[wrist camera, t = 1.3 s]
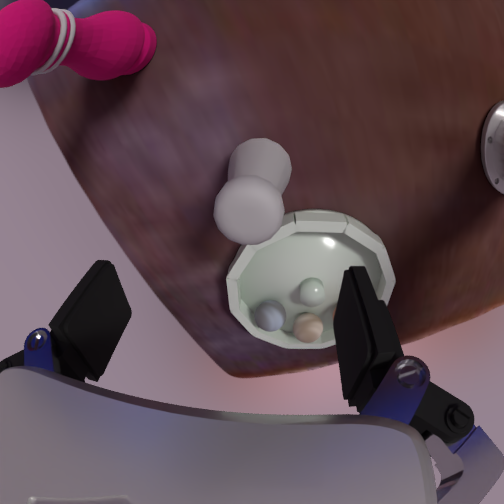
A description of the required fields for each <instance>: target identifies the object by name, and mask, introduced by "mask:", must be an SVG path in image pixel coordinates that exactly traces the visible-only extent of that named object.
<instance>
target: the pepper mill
mask: <svg viewBox="0 0 504 504" xmlns="http://www.w3.org/2000/svg"><path fill="white" fill-rule="evenodd" d="M156 44H157V39H156V35H155V32H154V31H153V29H152V28H151V27H150V26H148V25H147V24H145V23H142V22H141V21H140V20H139V19H138V18H137V17H136V16H134V15H133V14H131V13H128V12H124V11H106V12H102V13H98V14H96V15H93V16H90V17H88V18H84V19H80V18H74V16H73V15H72V13H71V12H69V11H67V10H64V9H57V8H51V7H50V6H49V5H48V4H47V3H46V2H45V1H42V0H19V1H16V2H13V3H11V4H10V5H8V6H6V7H5V8H3V9H2V10H0V88H3V87H10V86H13V85H15V84H17V83H20V82H22V81H23V80H24V79H26V78H27V77H28V76H30V75H37V74H45V73H48V72H50V71H52V70H53V69H55V68H56V67H57V66H58V65H65V66H68V67H70V68H71V69H72V70H74V71H75V72H76V73H78V74H79V75H81V76H83V77H86V78H88V79H92V80H109V79H113V78H116V77H118V76H120V75H130V74H133V73H135V72H138V71H139V70H141V69H142V68H144V67H145V66H146V65H147V64H148V63H149V61H150V60H151V58H152V57H153V55H154V52H155V49H156Z"/></svg>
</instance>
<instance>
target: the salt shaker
mask: <svg viewBox="0 0 504 504" xmlns="http://www.w3.org/2000/svg"><path fill="white" fill-rule="evenodd" d="M291 170H292V168H291V163H290V158H289V155H288V154H287V153H286V152H285V150H284V149H283V148H282V147H281V146H280V145H279V144H277V143H275V142H273V141H271V140H269V139H266V138H259V139H250V140H248V141H246V142H244V143H242V144H240V145H238V146H237V148H236V149H235V151H234V152H233V153H232V155H231V156H230V161H229V167H228V182H226V184H225V185H224V186H223V188H222V189H221V191H220V192H219V193H218V195H217V196H216V199H215V206H214V214H213V216H214V219H215V222H216V224H217V227H218V229H219V230H220V231H221V232H222V233H223V234H224V235H225V236H226V237H227V238H228V239H229V240H232V241H234V242H237V243H239V244H242V245H258V244H260V243H263V242H265V241H267V240H270V239H271V238H272V237H273V236H274V235H275V234H276V233H277V231H278V230H279V229H280V227H281V224H282V220H283V216H284V212H285V210H284V205H283V201H282V197H281V195H282V193H283V192H284V190H285V188H286V186H287V184H288V182H289V179H290V174H291Z"/></svg>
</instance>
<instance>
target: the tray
mask: <svg viewBox="0 0 504 504" xmlns="http://www.w3.org/2000/svg"><path fill="white" fill-rule="evenodd" d="M350 266H365V267H366V270H367V272H368V275H369V277H370V280H371V282H372V285H373V287H374V290H375V293H376V295H377V298H378V300H383V301H385V303H386V306H387V305H388V302H389V299H390V296H391V294H392V291H393V288H394V285H395V282H396V281H395V280H396V279H395V276H394V273H393V269H392V266H391V263H390V260H389V257H388V254H387V251H386V248H385V246H384V244H383V242H382V241H381V239H380V238H379V236H377V235H376V234H374V233H373V232H372V231H371V230H370V229H369V228H368V227H367V226H366V225H364V224H363V223H362V222H361V221H359V220H357V219H355V218H353V217H352V216H349V215H346V214H344V213H341V212H337V211H333V210H326V209H303V210H296V211H292V212H288V213H285V214H284V216H283V220H282V224H281V227H280V229H279V230H278V231H277V233H276V234H275V235H274V236H273V237H272V238H271V239H270V240H267V241H265V242H263V243H260V244H258V245H241V246H240V248H239V249H238V251H237V253H236V256H235V258H234V260H233V262H232V263H231V265H230V266H229V270H228V274H227V278H226V282H227V290H228V299H229V307H230V311H231V313H232V314H233V315H234V316H235V317H236V318H237V320H238V321H239V322H240V323H241V324H242V325H243V326H244V327H245V328H246V329H247V330H248V331H249V333H250V334H251V335H253V336H254V337H257V338H259V339H262V340H264V341H267V342H270V343H272V344H275V345H277V346H280V347H283V348H286V347H287V349H322V347H323V348H326V347H329V346H332V345H335V344H336V342H335V335H334V329H333V318H332V317H333V311H334V309H335V308H336V306H337V302H338V298H339V293H340V288H341V284H342V279H343V274H344V271H345V270H349V267H350ZM266 300H274V301H277V302H279V303H281V304H282V305H283V307H284V308H285V311H286V321H285V323H284V325H283V326H282V327H281V328H280V329H278V330H276V331H272V332H268V331H264V330H262V329H261V328H259V327H258V325H257V324H256V322H255V318H254V314H255V310H256V308H257V307H258V305H259V304H260V303H262V302H264V301H266ZM304 313H313V314H315V315H317V316H318V317H319V318H320V319H321V321H322V323H323V332H322V334H321V336H320V337H319V338H318V339H317V340H316V341H314V342H311V343H304V342H301V341H299V340H298V339H297V338H296V337H295V335H294V333H293V324H294V321H295V320H296V318H297V317H298V316H300V315H301V314H304Z"/></svg>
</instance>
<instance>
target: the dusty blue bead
mask: <svg viewBox="0 0 504 504" xmlns="http://www.w3.org/2000/svg"><path fill="white" fill-rule="evenodd" d="M254 318H255V322H256V324H257V325H258V327H259V328H261V329H262V330H264V331H268V332H272V331H276V330H278V329H280V328H281V327H282V326H283V325H284V323H285V321H286V311H285V308H284V307H283V305H282V304H281V303H279V302H277V301H274V300H266V301H264V302H262V303H260V304H259V305H258V307H257V308H256V310H255V314H254Z"/></svg>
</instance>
